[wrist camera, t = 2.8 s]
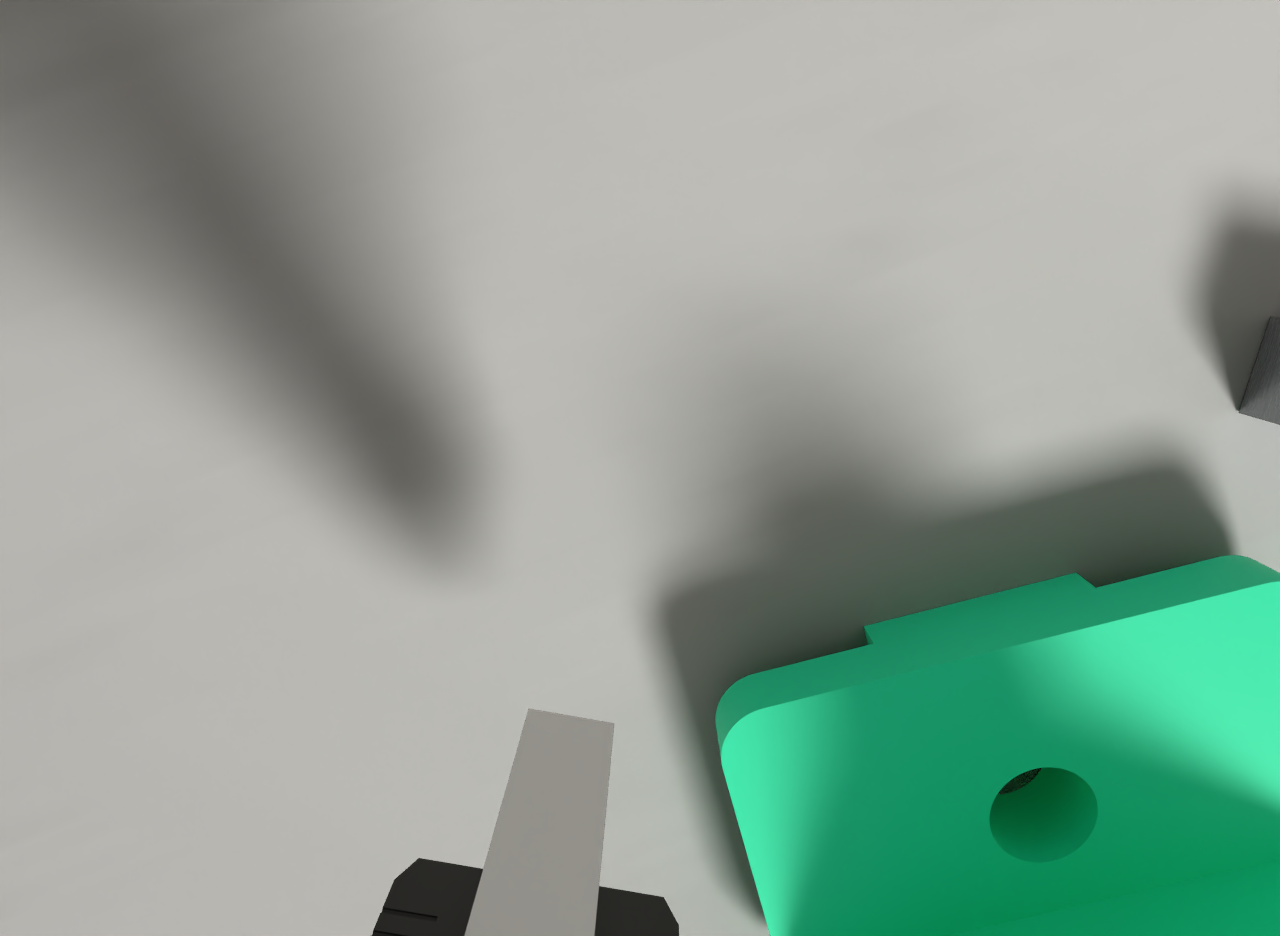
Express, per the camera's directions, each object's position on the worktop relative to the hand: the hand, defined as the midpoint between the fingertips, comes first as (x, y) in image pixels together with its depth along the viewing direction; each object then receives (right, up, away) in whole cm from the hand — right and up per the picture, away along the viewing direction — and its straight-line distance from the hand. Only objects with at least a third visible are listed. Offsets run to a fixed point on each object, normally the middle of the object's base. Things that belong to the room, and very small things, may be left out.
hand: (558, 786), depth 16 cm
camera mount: (+10, -1, +5) cm, 11 cm away
